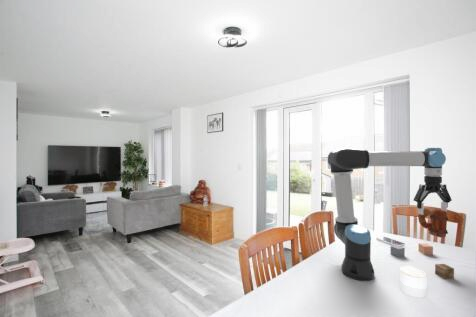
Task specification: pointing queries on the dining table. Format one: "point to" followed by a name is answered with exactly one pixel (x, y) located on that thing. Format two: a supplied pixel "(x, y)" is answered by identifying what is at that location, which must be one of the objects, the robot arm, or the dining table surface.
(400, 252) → the slate block
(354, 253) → the robot arm
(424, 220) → the mug
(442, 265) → the walnut block
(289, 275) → the dining table surface
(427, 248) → the terracotta block
